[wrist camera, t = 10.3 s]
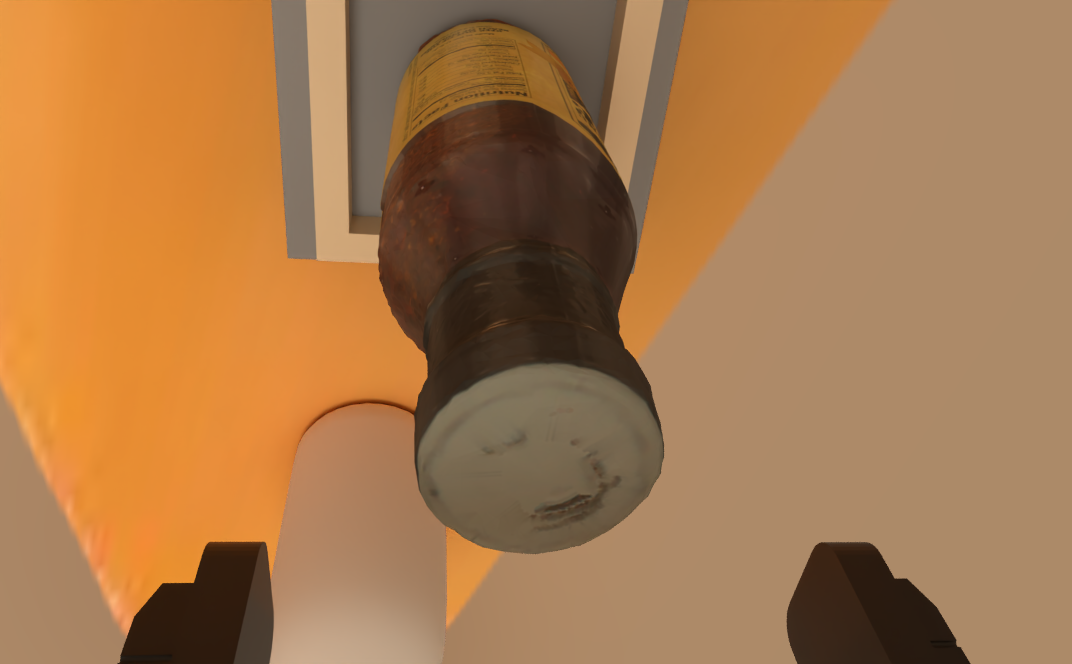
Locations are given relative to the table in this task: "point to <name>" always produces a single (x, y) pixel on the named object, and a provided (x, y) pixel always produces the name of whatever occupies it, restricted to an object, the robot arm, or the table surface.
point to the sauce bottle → (514, 295)
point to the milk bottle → (359, 548)
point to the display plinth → (379, 66)
